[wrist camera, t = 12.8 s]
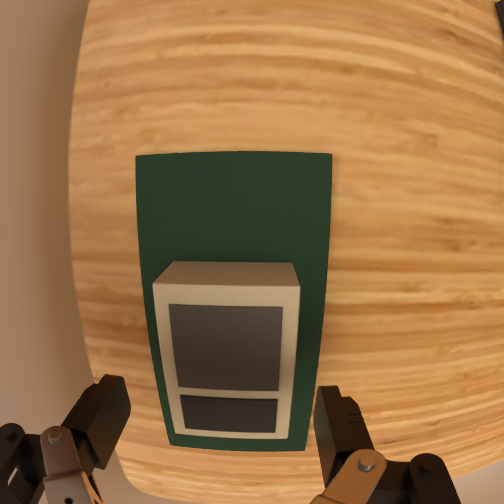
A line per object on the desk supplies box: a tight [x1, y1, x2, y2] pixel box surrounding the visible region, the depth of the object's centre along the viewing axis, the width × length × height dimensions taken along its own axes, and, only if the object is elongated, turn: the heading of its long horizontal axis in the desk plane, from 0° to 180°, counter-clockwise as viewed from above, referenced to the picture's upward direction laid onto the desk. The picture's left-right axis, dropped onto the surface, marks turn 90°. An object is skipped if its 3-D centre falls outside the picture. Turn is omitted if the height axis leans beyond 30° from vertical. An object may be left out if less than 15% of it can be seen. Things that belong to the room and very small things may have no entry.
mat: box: [136, 151, 332, 452], centre depth 18 cm, size 20×10×1 cm, turn 0°
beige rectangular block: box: [153, 261, 300, 439], centre depth 16 cm, size 9×6×4 cm
